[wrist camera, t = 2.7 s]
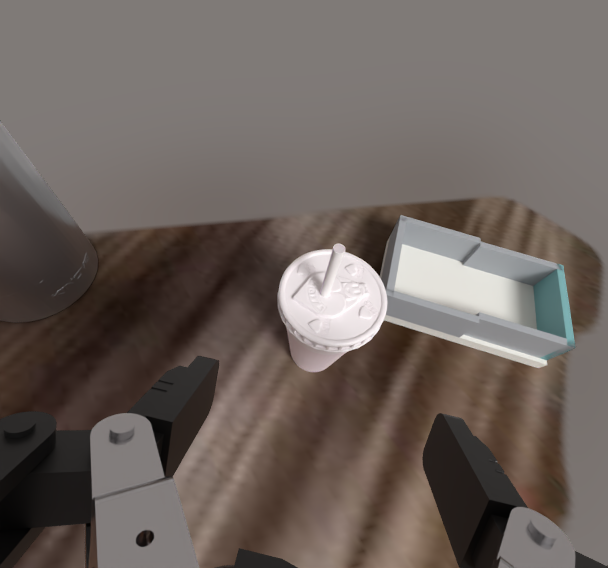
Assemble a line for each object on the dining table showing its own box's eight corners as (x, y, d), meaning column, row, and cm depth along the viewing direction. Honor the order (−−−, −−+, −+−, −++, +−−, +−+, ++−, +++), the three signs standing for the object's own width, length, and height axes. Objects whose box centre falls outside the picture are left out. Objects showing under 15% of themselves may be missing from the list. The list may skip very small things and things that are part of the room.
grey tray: (371, 316, 29) (385, 294, 26) (386, 241, 34) (400, 215, 30) (538, 368, 28) (576, 353, 25) (531, 284, 33) (562, 261, 29)
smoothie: (268, 319, 28) (271, 200, 16) (340, 309, 29) (393, 192, 17) (280, 396, 25) (294, 320, 13) (360, 382, 26) (441, 300, 14)
